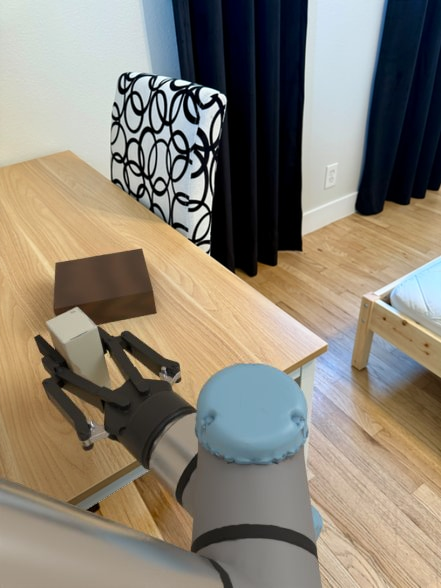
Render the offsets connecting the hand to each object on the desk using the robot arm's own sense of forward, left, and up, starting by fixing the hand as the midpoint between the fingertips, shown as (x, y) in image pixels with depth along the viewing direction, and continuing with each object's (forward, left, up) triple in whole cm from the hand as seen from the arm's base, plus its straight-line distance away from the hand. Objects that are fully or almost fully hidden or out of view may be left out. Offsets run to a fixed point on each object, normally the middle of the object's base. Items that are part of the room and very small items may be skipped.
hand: (58, 333), depth 56 cm
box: (+3, -5, -6) cm, 8 cm away
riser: (+6, +19, -10) cm, 23 cm away
